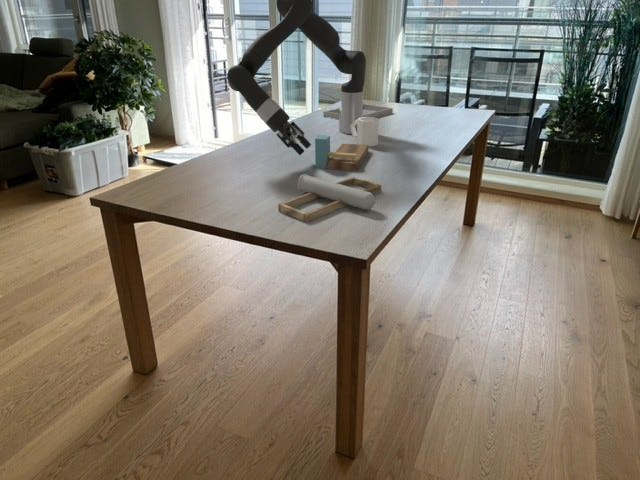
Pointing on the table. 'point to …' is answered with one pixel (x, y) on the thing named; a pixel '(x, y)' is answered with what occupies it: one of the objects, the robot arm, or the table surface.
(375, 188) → the tube rack
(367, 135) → the mug
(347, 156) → the teal ice pop
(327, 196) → the tube
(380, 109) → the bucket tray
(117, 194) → the table surface
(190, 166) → the table surface
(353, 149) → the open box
